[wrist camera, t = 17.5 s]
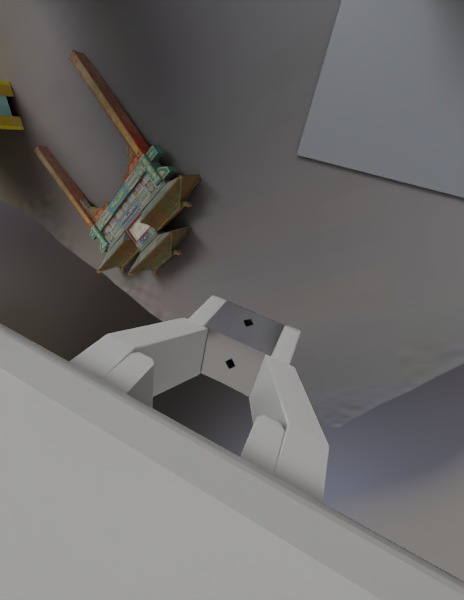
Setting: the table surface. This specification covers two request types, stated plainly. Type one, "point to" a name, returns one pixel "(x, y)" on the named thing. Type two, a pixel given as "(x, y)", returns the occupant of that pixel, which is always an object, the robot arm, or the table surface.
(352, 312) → the table surface
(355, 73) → the board
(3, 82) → the book
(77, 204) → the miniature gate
